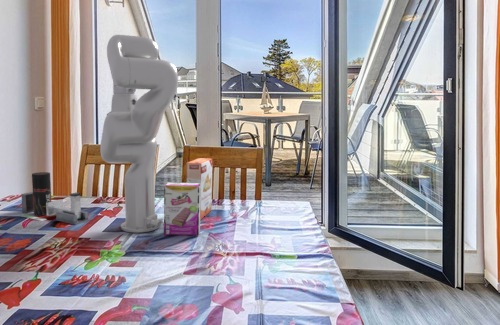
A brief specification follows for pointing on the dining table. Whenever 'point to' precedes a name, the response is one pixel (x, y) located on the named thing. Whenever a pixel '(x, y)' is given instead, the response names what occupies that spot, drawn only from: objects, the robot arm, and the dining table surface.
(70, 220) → the grey metal bracket
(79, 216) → the grey angular piece
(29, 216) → the green band
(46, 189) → the deodorant
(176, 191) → the candy bar box
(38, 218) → the strips
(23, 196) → the grey flat block
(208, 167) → the cracker box
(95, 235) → the dining table surface
